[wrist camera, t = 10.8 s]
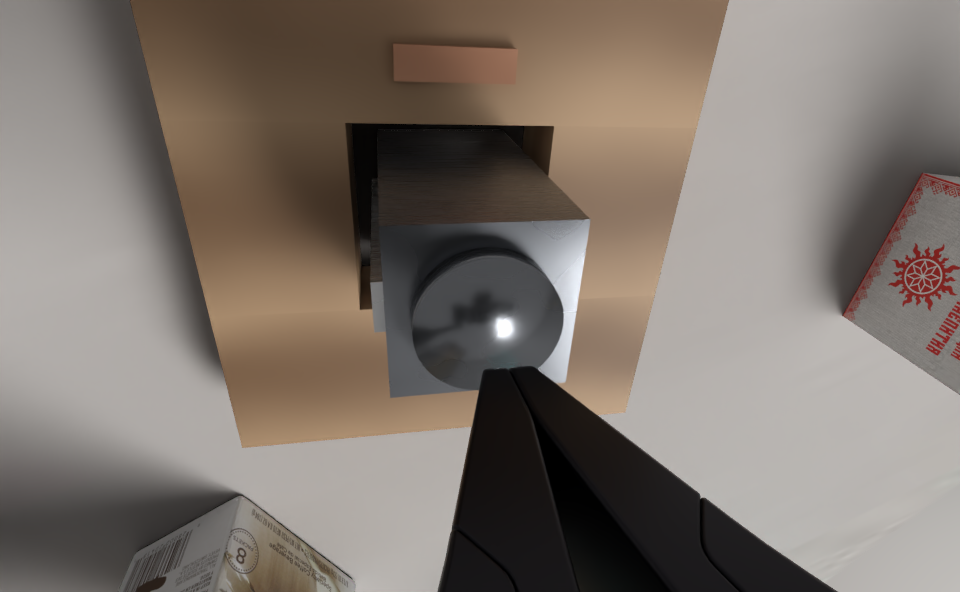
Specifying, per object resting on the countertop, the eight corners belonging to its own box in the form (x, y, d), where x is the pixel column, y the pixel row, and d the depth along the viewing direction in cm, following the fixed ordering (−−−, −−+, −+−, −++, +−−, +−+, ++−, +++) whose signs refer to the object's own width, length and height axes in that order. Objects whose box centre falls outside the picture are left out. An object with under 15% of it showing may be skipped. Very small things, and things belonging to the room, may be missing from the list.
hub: (596, 365, 22) (628, 417, 20) (259, 390, 20) (240, 454, 17) (687, -85, 14) (763, -106, 12) (147, -137, 12) (78, -179, 9)
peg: (502, 129, 17) (602, 231, 9) (495, 242, 19) (574, 399, 11) (369, 129, 16) (363, 240, 9) (377, 247, 18) (378, 418, 11)
